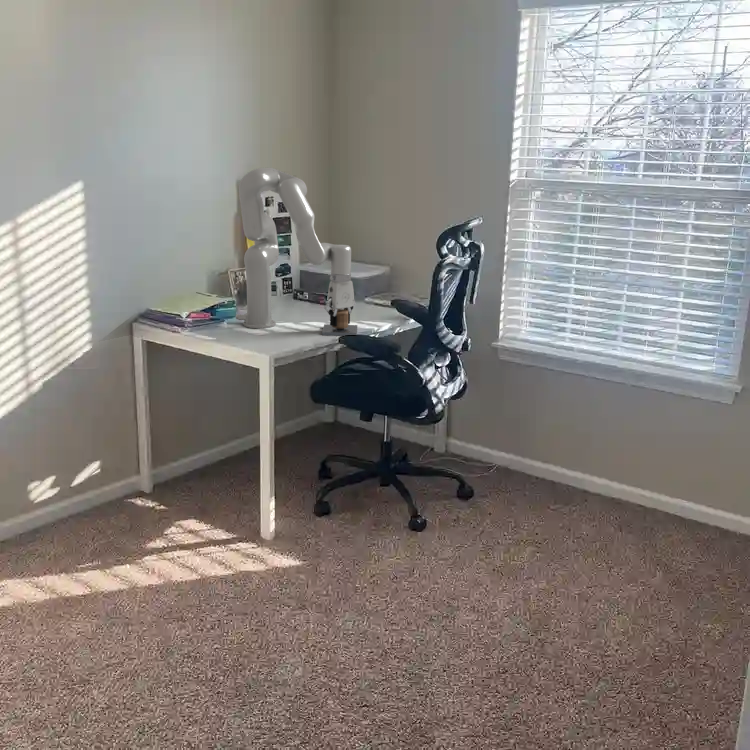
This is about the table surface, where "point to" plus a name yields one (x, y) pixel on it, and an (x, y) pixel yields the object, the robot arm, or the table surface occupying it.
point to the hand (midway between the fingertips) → (340, 324)
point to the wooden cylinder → (342, 318)
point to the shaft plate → (339, 330)
